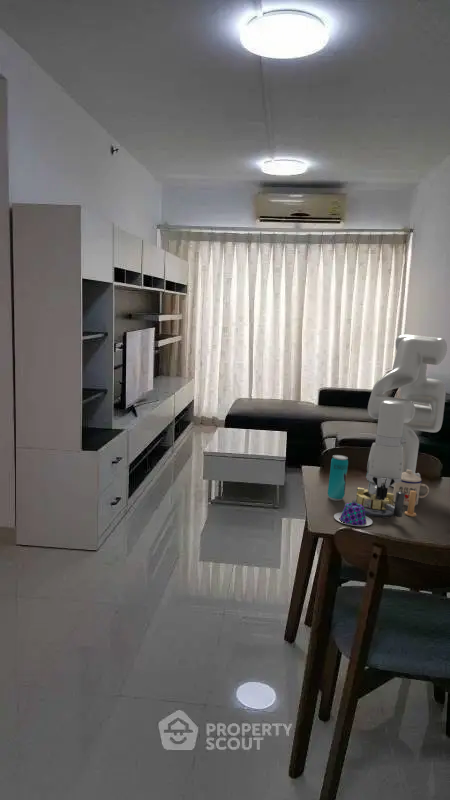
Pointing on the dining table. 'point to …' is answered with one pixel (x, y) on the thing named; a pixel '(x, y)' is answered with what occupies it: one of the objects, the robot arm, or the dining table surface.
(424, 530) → the dining table surface
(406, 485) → the teacup with lid
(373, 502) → the segmented ring with handle
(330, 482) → the beverage can
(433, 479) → the dining table surface
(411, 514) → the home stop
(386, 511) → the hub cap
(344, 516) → the pudding
